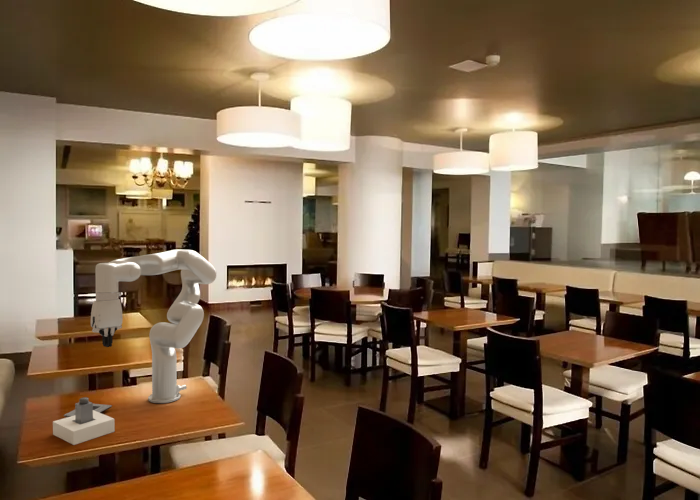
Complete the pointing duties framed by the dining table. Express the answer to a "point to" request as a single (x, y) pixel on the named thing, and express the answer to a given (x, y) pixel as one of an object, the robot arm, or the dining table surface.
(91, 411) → the plug
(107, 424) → the socket
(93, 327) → the robot arm
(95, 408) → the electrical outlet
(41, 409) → the dining table surface
